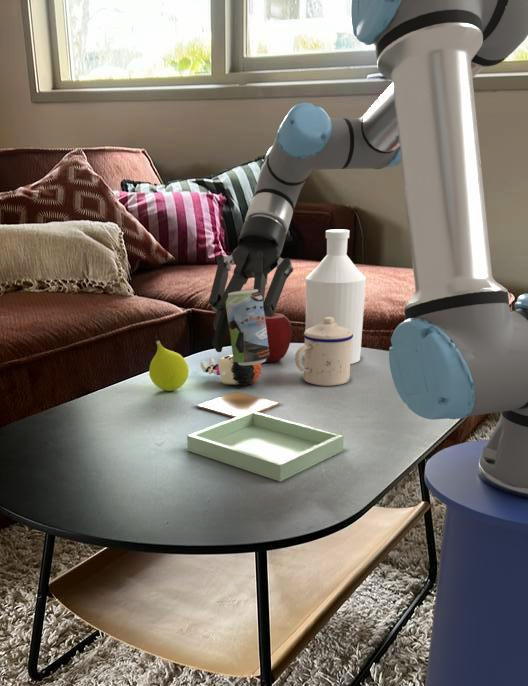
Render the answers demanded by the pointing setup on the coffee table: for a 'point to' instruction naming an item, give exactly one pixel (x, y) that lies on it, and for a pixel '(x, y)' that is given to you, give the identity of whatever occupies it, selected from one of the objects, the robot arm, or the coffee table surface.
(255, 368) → the figurine
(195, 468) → the coffee table surface
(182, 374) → the ornament
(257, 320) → the beverage can
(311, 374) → the teacup with lid
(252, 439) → the tray
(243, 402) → the coaster
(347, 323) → the bottle
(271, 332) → the apple
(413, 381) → the robot arm
